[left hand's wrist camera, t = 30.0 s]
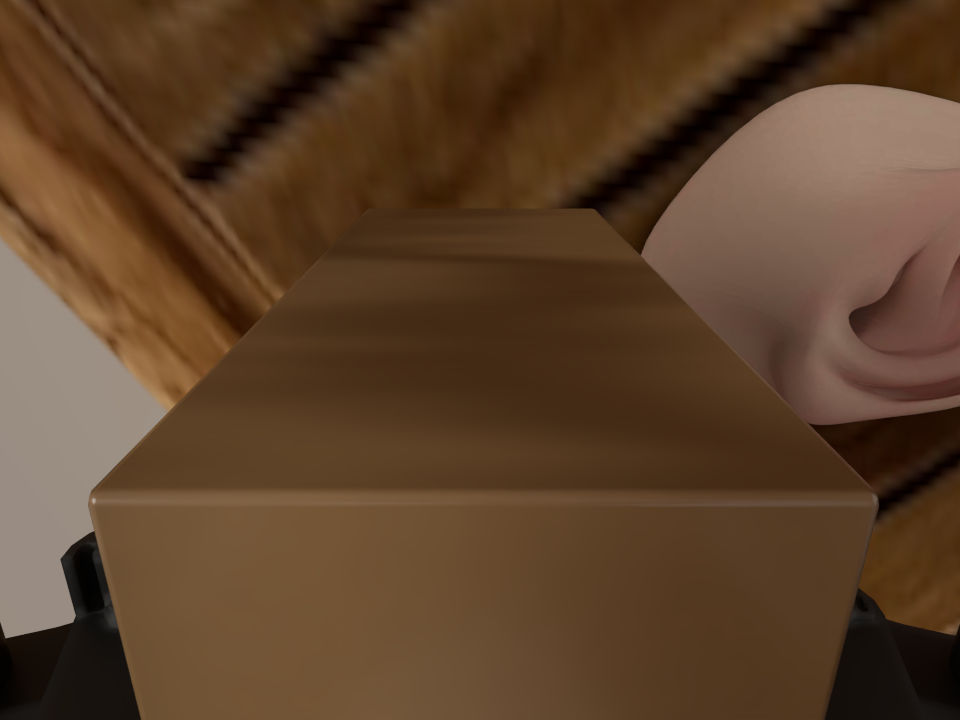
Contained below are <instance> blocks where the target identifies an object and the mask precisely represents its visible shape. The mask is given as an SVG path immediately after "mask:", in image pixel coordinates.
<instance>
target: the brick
mask: <svg viewBox="0 0 960 720" xmlns="http://www.w3.org/2000/svg"><path fill="white" fill-rule="evenodd" d="M88 507H89V511H90V515H91V519H92V523H93V527H94V531H95V535H96V539H97V543H98V547H99V551H100V555H101V559H102V563H103V568H104V572H105V576H106V580H107V584H108V588H109V592H110V596H111V600H112V604H113V608H114V612H115V616H116V620H117V624H118V628H119V632H120V636H121V640H122V644H123V648H124V652H125V656H126V660H127V664H128V668H129V672H130V676H131V681H132V685H133V689H134V693H135V697H136V701H137V705H138V709H139V713H140V717H141V720H825V717H826V713H827V709H828V705H829V701H830V697H831V693H832V689H833V685H834V681H835V677H836V673H837V669H838V665H839V661H840V657H841V653H842V650H843V646H844V642H845V638H846V634H847V630H848V626H849V622H850V618H851V614H852V610H853V606H854V602H855V598H856V594H857V590H858V586H859V582H860V578H861V574H862V570H863V567H864V563H865V559H866V555H867V551H868V547H869V543H870V539H871V535H872V531H873V527H874V523H875V519H876V515H877V511H878V507H879V503H878V497H877V494H876V491H875V490H874V489H873V488H872V487H871V486H870V485H869V484H868V483H867V482H866V481H865V480H864V479H863V478H862V477H861V476H860V475H859V474H858V473H857V472H856V471H855V470H854V469H853V468H852V467H851V466H850V465H849V464H848V463H847V462H846V461H845V460H844V459H843V458H842V457H841V456H840V455H839V454H838V453H837V452H836V451H835V450H834V449H833V448H832V447H831V446H830V445H829V444H828V443H827V442H826V441H825V440H824V439H823V438H822V437H821V436H820V435H819V434H818V433H817V432H816V431H815V430H814V429H813V428H812V427H811V426H810V425H809V424H808V423H807V422H806V421H805V420H804V419H803V418H802V417H801V416H800V415H799V414H798V413H797V412H796V411H795V410H794V409H793V408H792V407H791V406H790V405H789V404H788V403H787V402H786V401H785V400H784V399H783V398H782V397H781V396H780V395H779V394H778V393H777V392H776V391H775V390H774V389H773V388H772V387H771V386H770V385H769V384H768V383H767V382H766V381H765V380H764V379H763V378H762V377H761V376H760V375H759V374H758V373H757V372H756V371H755V370H754V369H753V368H752V367H751V366H750V365H749V364H748V363H747V362H746V361H745V360H744V359H743V358H742V357H741V356H740V355H739V354H738V353H737V352H736V351H735V350H734V349H733V348H732V347H731V346H730V345H729V344H728V343H727V342H726V341H725V340H724V339H723V338H722V337H721V336H720V335H719V334H718V333H717V332H716V331H715V330H714V329H713V328H712V327H711V326H710V325H709V324H708V323H707V322H706V321H705V320H704V319H703V318H702V317H701V316H700V315H699V314H698V313H697V312H696V311H695V310H694V309H693V308H692V307H691V306H690V305H689V304H688V303H687V302H686V301H685V300H684V299H683V298H682V297H681V296H680V295H679V294H678V293H677V292H676V291H675V290H674V289H673V288H672V287H671V286H670V285H669V284H668V282H667V281H666V280H665V279H664V278H663V277H662V276H661V275H660V274H659V273H658V272H657V271H656V270H655V269H654V268H653V267H652V266H651V265H650V264H649V263H648V262H647V261H646V260H645V259H644V258H643V257H642V256H641V255H640V254H639V253H638V252H637V251H636V250H635V249H634V248H633V247H632V246H631V245H630V244H629V243H628V242H627V241H626V240H625V239H624V238H623V237H622V236H621V235H620V234H619V233H618V232H617V231H616V230H615V229H614V228H613V227H612V226H611V225H610V224H609V223H608V222H607V221H606V220H605V219H604V218H603V217H602V216H601V215H600V214H599V213H598V212H597V211H596V210H594V209H368V210H367V211H366V212H365V213H364V214H363V215H362V216H361V217H360V218H359V219H358V220H357V221H356V222H355V223H354V224H353V225H352V226H351V227H350V228H349V229H348V230H347V231H346V232H345V233H344V234H343V235H342V236H341V237H340V238H339V239H338V240H337V241H336V242H335V243H334V244H333V245H332V246H331V247H330V248H329V249H328V250H327V251H326V252H325V253H324V254H323V255H322V256H321V257H320V258H319V259H318V260H317V262H316V263H315V264H314V265H313V266H312V267H311V268H310V269H309V270H308V271H307V272H306V273H305V274H304V275H303V276H302V277H301V278H300V279H299V280H298V281H297V282H296V283H295V284H294V285H293V286H292V287H291V288H290V289H289V290H288V291H287V292H286V293H285V294H284V295H283V296H282V297H281V298H280V299H279V300H278V301H277V302H276V303H275V304H274V305H273V306H272V307H271V308H270V309H269V310H268V311H267V312H266V313H265V314H264V316H263V317H262V318H261V319H260V320H259V321H258V322H257V323H256V324H255V325H254V326H253V327H252V328H251V329H250V330H249V331H248V332H247V333H246V334H245V335H244V336H243V337H242V338H241V339H240V340H239V341H238V342H237V343H236V344H235V345H234V346H233V347H232V348H231V349H230V350H229V351H228V352H227V353H226V354H225V355H224V356H223V357H222V358H221V359H220V360H219V361H218V362H217V363H216V364H215V365H214V366H213V367H212V368H211V370H210V371H209V372H208V373H207V374H206V375H205V376H204V377H203V378H202V379H201V380H200V381H199V382H198V383H197V384H196V385H195V386H194V387H193V388H192V389H191V390H190V391H189V392H188V393H187V394H186V395H185V396H184V397H183V398H182V399H181V400H180V401H179V402H178V403H177V404H176V405H175V406H174V407H173V408H172V409H171V410H170V411H169V412H168V413H167V414H166V415H165V416H164V417H163V418H162V419H161V421H160V422H159V423H158V424H157V425H156V426H155V427H154V428H153V429H152V430H151V431H150V432H149V433H148V434H147V435H146V436H145V437H144V438H143V439H142V440H141V441H140V442H139V443H138V444H137V445H136V446H135V447H134V448H133V449H132V450H131V451H130V452H129V453H128V454H127V455H126V456H125V457H124V458H123V459H122V460H121V461H120V462H119V463H118V464H117V465H116V466H115V467H114V468H113V469H112V470H111V471H110V472H109V474H107V476H106V477H105V478H104V479H103V480H102V481H101V482H100V483H99V484H98V485H97V486H96V487H95V488H94V489H93V490H92V491H91V494H90V497H89V503H88Z"/></svg>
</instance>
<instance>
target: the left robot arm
mask: <svg viewBox="0 0 960 720" xmlns="http://www.w3.org/2000/svg"><path fill="white" fill-rule="evenodd" d="M61 563H62V567H63V570H64V574H65V578H66V581H67V585H68V589H69V592H70V596H71V600H72V603H73V607H74V611H75V614H76V617H75V619H74V622H73V623H70V624H66V625H63V626H60V627H56V628H51V629H47V630H42V631H38V632H33V633H29V634H24V635H20V636H15V637H10V638H6V639H5V636H4V633H3V630H2V626H1V623H0V720H141V717H140V713H139V709H138V705H137V701H136V697H135V693H134V689H133V685H132V681H131V676H130V672H129V668H128V664H127V660H126V656H125V652H124V648H123V644H122V640H121V636H120V632H119V628H118V624H117V620H116V616H115V612H114V608H113V604H112V600H111V596H110V592H109V588H108V584H107V580H106V576H105V572H104V568H103V563H102V559H101V555H100V551H99V547H98V543H97V539H96V535H95V531H94V532H91V533H89V534H88V535H86V536H85V537H83V538H82V539H80V540H79V541H78V542H76V543H75V544H73V545H72V546H71V547H70V548H69V549H68V551H67V552H66V553H65V554H64V556H63V557H62V558H61ZM825 720H960V625H959V628H958V631H957V634H956V636H954V635H949V634H945V633H940V632H936V631H931V630H927V629H922V628H918V627H913V626H908V625H904V624H900V623H897V622H893V621H890V620H887V619H886V618H885V616H884V614H883V613H882V611H881V610H880V608H879V607H878V605H877V604H876V602H875V601H874V600H873V599H872V598H871V597H869V596H868V595H867V594H865V593H864V592H863V591H862V590H860V589H859V588H858V590H857V594H856V598H855V602H854V606H853V610H852V614H851V618H850V622H849V626H848V630H847V634H846V638H845V642H844V646H843V650H842V653H841V657H840V661H839V665H838V669H837V673H836V677H835V681H834V685H833V689H832V693H831V697H830V701H829V705H828V709H827V713H826V717H825Z"/></svg>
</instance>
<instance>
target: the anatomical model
mask: <svg viewBox="0 0 960 720" xmlns="http://www.w3.org/2000/svg"><path fill="white" fill-rule="evenodd" d="M641 256H642V257H643V258H644V259H645V260H646V261H647V262H648V263H649V264H650V265H651V266H652V267H653V268H654V269H655V270H656V271H657V272H658V273H659V274H660V275H661V276H662V277H663V278H664V279H665V280H666V281H667V282H668V284H669V285H670V286H671V287H672V288H673V289H674V290H675V291H676V292H677V293H678V294H679V295H680V296H681V297H682V298H683V299H684V300H685V301H686V302H687V303H688V304H689V305H690V306H691V307H692V308H693V309H694V310H695V311H696V312H697V313H698V314H699V315H700V316H701V317H702V318H703V319H704V320H705V321H706V322H707V323H708V324H709V325H710V326H711V327H712V328H713V329H714V330H715V331H716V332H717V333H718V334H719V335H720V336H721V337H722V338H723V339H724V340H725V341H726V342H727V343H728V344H729V345H730V346H731V347H732V348H733V349H734V350H735V351H736V352H737V353H738V354H739V355H740V356H741V357H742V358H743V359H744V360H745V361H746V362H747V363H748V364H749V365H750V366H751V367H752V368H753V369H754V370H755V371H756V372H757V373H758V374H759V375H760V376H761V377H762V378H763V379H764V380H765V381H766V382H767V383H768V384H769V385H770V386H771V387H772V388H773V389H774V390H775V391H776V392H777V393H778V394H779V395H780V396H781V397H782V398H783V399H784V400H785V401H786V402H787V403H788V404H789V405H790V406H791V407H792V408H793V409H794V410H795V411H796V412H797V413H798V414H799V415H800V416H801V417H802V418H803V419H804V420H805V421H806V422H807V423H810V424H816V425H830V424H841V423H849V422H856V421H864V420H871V419H879V418H887V417H896V416H904V415H912V414H919V413H926V412H932V411H939V410H945V409H949V408H954V407H958V406H960V103H957V102H953V101H949V100H946V99H942V98H937V97H933V96H929V95H925V94H921V93H917V92H911V91H906V90H901V89H895V88H890V87H880V86H871V85H860V84H838V85H827V86H822V87H817V88H812V89H809V90H806V91H803V92H799V93H796V94H794V95H792V96H790V97H788V98H786V99H784V100H782V101H779V102H777V103H776V104H774V105H772V106H771V107H769V108H768V109H766V110H765V111H763V112H761V113H760V114H759V115H757V116H756V117H755V118H753V119H752V120H751V121H750V122H748V123H747V124H746V125H744V126H743V127H742V128H741V129H739V130H738V131H737V132H735V133H734V134H733V135H732V136H731V137H730V138H729V139H728V140H727V141H726V142H725V143H724V144H723V145H722V146H721V147H720V148H719V149H717V150H716V151H715V152H714V153H713V154H712V155H711V156H710V158H709V159H708V160H707V161H706V162H705V163H704V164H703V165H702V166H701V168H700V169H699V170H698V171H697V172H696V173H695V174H694V175H693V176H692V178H691V179H690V180H689V181H688V182H687V184H686V185H685V186H684V187H683V189H682V190H681V191H680V192H679V193H678V195H677V196H676V197H675V198H674V200H673V201H672V202H671V203H670V205H669V206H668V208H667V209H666V210H665V212H664V213H663V215H662V216H661V218H660V219H659V221H658V222H657V224H656V225H655V227H654V228H653V230H652V232H651V234H650V236H649V237H648V239H647V241H646V243H645V246H644V249H643V251H642V254H641Z"/></svg>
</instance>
